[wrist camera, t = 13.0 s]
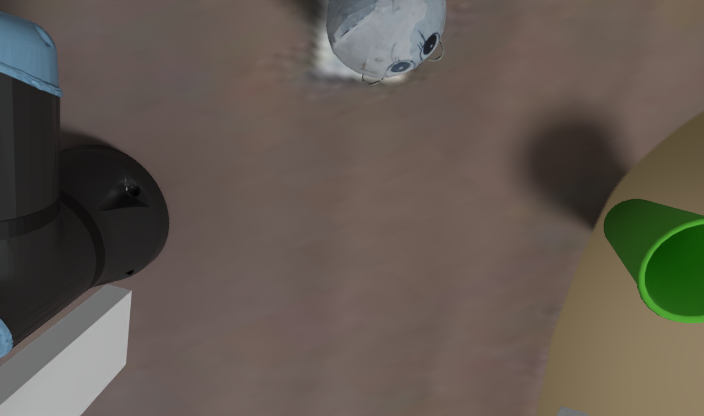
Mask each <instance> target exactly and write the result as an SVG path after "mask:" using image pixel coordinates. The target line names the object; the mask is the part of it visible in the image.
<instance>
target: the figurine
mask: <svg viewBox="0 0 704 416" xmlns="http://www.w3.org/2000/svg"><path fill="white" fill-rule="evenodd" d="M445 18H446V0H329V5H328V17H327V26H326V27H327V34H328V39H329V42H330V45H331V48H332V51H333V53H334V54H335V55H336V56H337V57H338V58H339V59H340V61H341V62H342V63H343V64H344V65H346V66H347V67H349V68H350V69H352V70H354V71H356V72H357V73H359V74H363V75H366V76H369V77H374V78H382V80H383V78H389V77H392V76H396V75H400V74H403V73H406V72H408V71H410V70H412V69H414V68H416V67H417V66H418V65H420V64H421V63H422V62H423V61H424V60H425V59H427V60H430V61H434V62H435V61H438V60H440V59H441V58H442V57H443V55H444V52H445V49H444V44H443V43H442V42H441V39H440V38H441V36H442V33H443V30H444V24H445ZM438 42H440V44H441V46H442V49H443V52H442V54H441V56H440V57H439V58H436V59H429V58H427V57H429V56H430V55H431V53H432V52H433V51H434V49H435V48H436V46H437V44H438ZM362 79H363V76H362ZM379 81H380V80H379ZM379 81H377V82H374V83H367V82H366V81H365V80H364V79H363V80H362V82H363V83H364V84H367V85H372V86H373V85H375V84H378V83H379Z"/></svg>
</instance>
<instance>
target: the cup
mask: <svg viewBox="0 0 704 416" xmlns="http://www.w3.org/2000/svg"><path fill="white" fill-rule="evenodd" d="M604 233H605V236H606V238H607V239H608V241H609V243H610V244H611V246H612V247H613V249H614V250H615V252H616V253H617V255H618V256H619V258H620V259H621V261H622V262H623V264H624V265H625V267H626V268H627V270H628V271H629V273H630V274H631V276H632V277H633V279H634V280H635V281H636V283H637V288H638V291H639V294H640V296H641V299H642V300H643V301H644V303H645V304H646V305H647V307H648V308H649V309H651V310H652V311H653V312H655V313H656V314H657V315H659V316H661V317H664V318H666V319H669V320H672V321H678V322H684V323H701V322H704V216H703V215H699V214H696V213H692V212H688V211H684V210H681V209H677V208H673V207H669V206H666V205H662V204H658V203H654V202H650V201H647V200H642V199H631V200H627V201H623V202H621V203H619V204H617V205H615V206H614V207H613V208H612V209H611V210H610V211H609V212H608V214H607V216H606V218H605V221H604Z"/></svg>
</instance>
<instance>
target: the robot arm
mask: <svg viewBox="0 0 704 416" xmlns="http://www.w3.org/2000/svg"><path fill="white" fill-rule="evenodd" d="M60 97H63V92H62V90H61V89H60V87H59V78H58V62H57V50H56V46H55V43H54V41H53V39H52V38H51V37H50V35H49V34H48V33H47V32H46V31H45V30H44V29H43V28H42V27H40V26H39V25H37V24H35V23H34V22H32V21H29V20H26V19H24V18H21V17H18V16H15V15H11V14H8V13H5V12H2V11H0V357H2V356H5V355H6V354H7V353H8V352H9V351H10V350H11V349H12V348H13V347H15V346H16V345H17V344H18V343H20V342H21V341H22V340H24V339H25V338H26V337H28V336H29V335H30V334H31V333H33V332H34V331H35V330H37V329H38V328H39V327H40V326H42V325H43V324H44V323H46V322H47V321H48V320H49V319H51V318H52V317H53V316H55V315H56V314H57V313H59V312H60V311H61V310H62V309H64V308H65V307H66V306H68V305H69V304H70V303H71V302H73V301H74V300H75V299H77V298H78V297H79V296H81V295H82V294H83V293H84V292H86V291H87V290H88V289H90V288H92V287H96V286H100V285H103V284H106V285H105V286H104V287H102V288H101V289H100V290H99V291H97V292H96V293H95V294H93V295H92V296H91V297H90V298H88V299H87V300H86V301H84V302H83V303H82V304H81V305H79V306H78V307H77V308H75V309H74V310H73V311H71V312H70V313H69V314H68V315H66V316H65V317H64V318H62V319H61V320H60V321H59V322H57V323H56V324H55V325H53V326H52V327H51V328H49V329H48V330H47V331H46V332H44V333H43V334H42V335H40V336H39V337H38V338H37V339H35V340H34V341H33V342H31V343H30V344H29V345H28V346H26V347H25V348H24V349H22V350H21V351H20V352H18V353H17V354H16V355H15V356H13V357H12V358H11V359H9V360H8V361H7V362H6V363H4V364H3V365H2V366H0V416H80V415H81V414H82V413H83V412H84V411H85V409H86V408H87V407H88V406H89V405H90V404H91V403H92V402H93V400H94V399H95V398H96V397H97V396H98V395H99V394H100V393H101V392H102V390H103V389H104V388H105V387H106V386H107V385H108V384H109V383H110V381H111V380H112V379H113V378H114V377H115V376H116V375H117V374H118V372H119V371H120V370H121V369H122V368H123V367H124V366H125V365H126V354H127V342H128V330H129V317H130V305H131V293H132V291H131V290H127V289H123V288H120V287H116V286H112V285H108V284H107V283H111V282H114V281H118V280H121V279H125V278H128V277H130V276H132V275H134V274H136V273H138V272H139V271H141V270H142V269H143V268H145V267H146V266H147V265H148V264H150V263H151V262H152V261H153V260H154V259H155V258H156V257H157V256H158V255H159V254H160V252H161V251H162V249H163V247H164V245H165V242H166V239H167V236H168V230H169V216H168V210H167V206H166V203H165V200H164V197H163V195H162V193H161V191H160V189H159V187H158V186H157V184H156V182H155V181H154V180H153V178H152V177H151V176H150V175H149V173H148V172H147V171H146V170H145V169H144V168H143V167H142V166H140V165H139V164H138V163H137V162H136V161H134V160H133V159H131V158H130V157H128V156H126V155H125V154H123V153H121V152H119V151H116V150H114V149H111V148H107V147H103V146H97V145H82V146H77V147H73V148H69V149H65V150H62V151H60ZM557 416H588V414H587V413H584V412H580V411H576V410H573V409H569V408H566V407H562V406H561V408H560V410H559V412H558V414H557Z"/></svg>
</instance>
